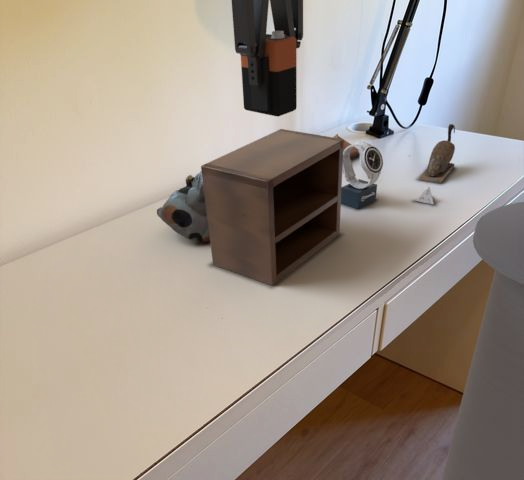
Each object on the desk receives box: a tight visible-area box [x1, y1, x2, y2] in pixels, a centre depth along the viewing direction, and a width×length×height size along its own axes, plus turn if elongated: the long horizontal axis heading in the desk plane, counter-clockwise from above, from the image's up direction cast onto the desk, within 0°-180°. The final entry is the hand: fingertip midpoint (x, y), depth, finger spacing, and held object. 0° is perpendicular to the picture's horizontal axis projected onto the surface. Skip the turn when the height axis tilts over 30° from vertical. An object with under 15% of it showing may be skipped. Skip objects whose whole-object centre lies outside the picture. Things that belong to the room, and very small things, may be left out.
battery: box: [240, 30, 298, 117], centre depth 72 cm, size 4×7×10 cm, turn 48°
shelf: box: [200, 128, 345, 286], centre depth 84 cm, size 12×20×16 cm, turn 143°
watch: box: [341, 141, 384, 210], centre depth 99 cm, size 6×8×11 cm
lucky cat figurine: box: [156, 170, 210, 243], centre depth 93 cm, size 15×12×14 cm
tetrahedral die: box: [416, 186, 435, 205], centre depth 101 cm, size 4×3×3 cm
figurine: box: [419, 123, 456, 184], centre depth 110 cm, size 14×4×9 cm, turn 149°
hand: (272, 104), depth 74 cm, fingers closed on battery, 5 cm apart
